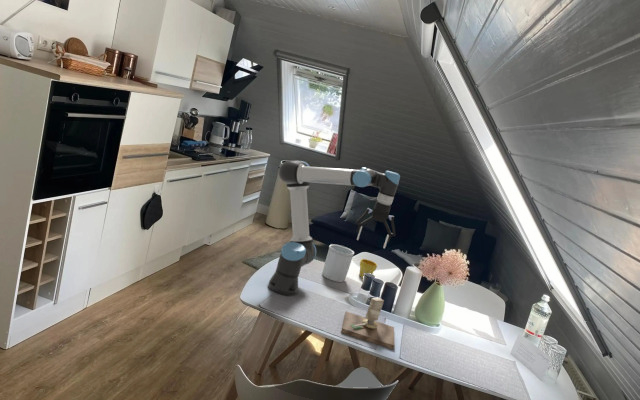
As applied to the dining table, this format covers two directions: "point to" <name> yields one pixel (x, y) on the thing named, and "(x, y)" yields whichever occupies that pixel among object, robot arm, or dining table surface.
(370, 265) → the plant pot
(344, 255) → the utensil holder
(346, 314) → the plate
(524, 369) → the dining table surface
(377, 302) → the peg
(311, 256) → the robot arm
